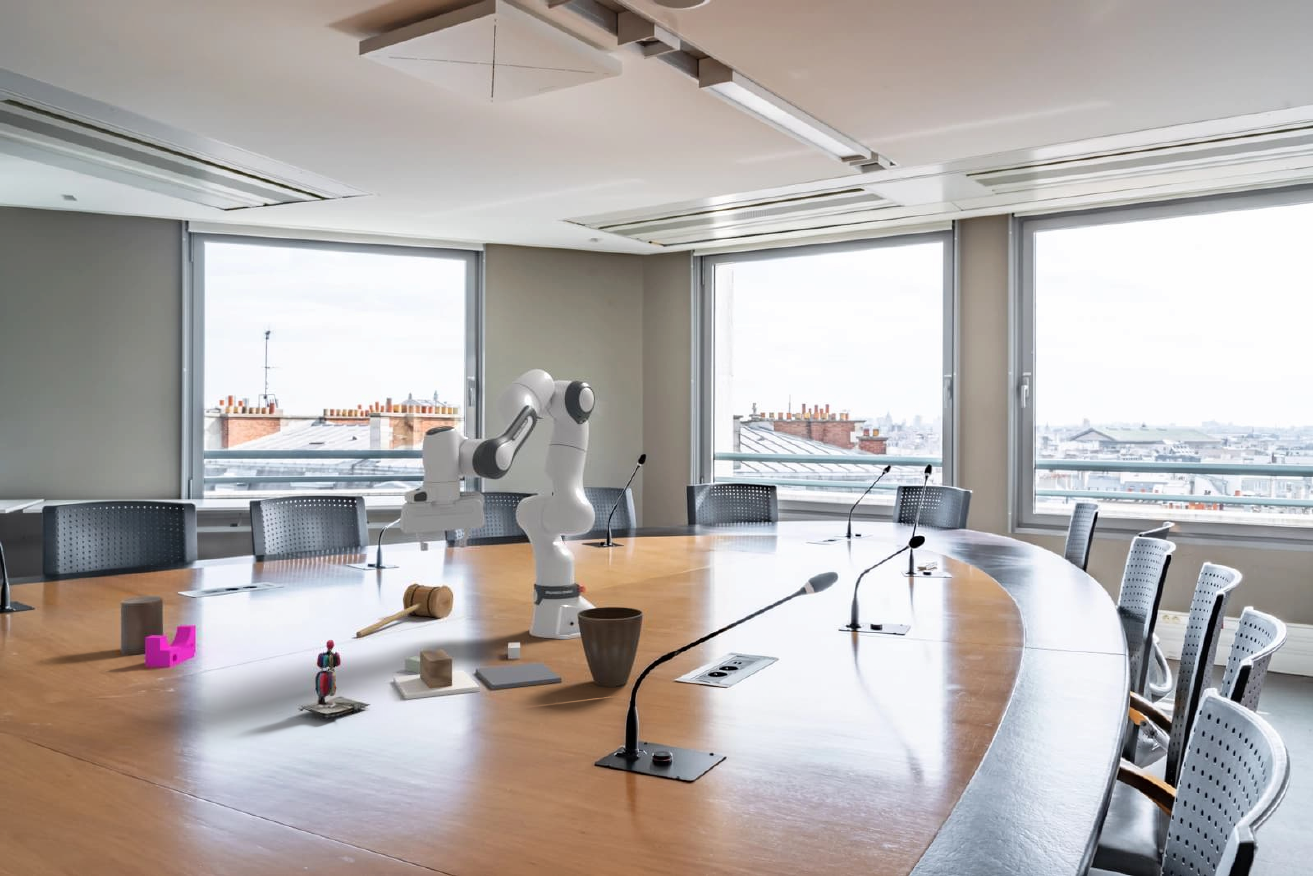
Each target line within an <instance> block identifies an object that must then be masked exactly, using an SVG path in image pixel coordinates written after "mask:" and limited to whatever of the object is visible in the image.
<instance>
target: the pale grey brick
mask: <svg viewBox="0 0 1313 876" xmlns="http://www.w3.org/2000/svg"><path fill="white" fill-rule="evenodd" d="M507 645H508V646H507V659H508V660H521V642H520V641H519V642H508V644H507Z"/></svg>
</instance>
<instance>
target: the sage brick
mask: <svg viewBox="0 0 1313 876" xmlns="http://www.w3.org/2000/svg"><path fill="white" fill-rule="evenodd" d="M404 670H405V671H409V672H413V673H417V674H420V656H418V655H417V656H416V655H414V656H410V657H405V658H404Z"/></svg>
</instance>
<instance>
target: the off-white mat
mask: <svg viewBox="0 0 1313 876" xmlns="http://www.w3.org/2000/svg"><path fill="white" fill-rule="evenodd" d="M393 683H394V684H395V686H396V688H398V690H399V692H400V693H401V695H402V696H403V698H404V699H405V700H411V699H422V698H429V697H439V696H447V695H448V696H449V695H457V694H466V693H474V692H475V693H477V692H480V686H479V685H478V684H477V682H476V681H474V679H472V677H470V675H469V674H468V673H467V672H466V671H465V670H463V669H461V670H452V686H447V687H438V688H429V687H428V686H427V685H426V684H425V683H424V682H423V680H422V679H421V678H420V673H418V674H412V675H401V676H394V677H393Z"/></svg>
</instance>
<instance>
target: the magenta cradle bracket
mask: <svg viewBox="0 0 1313 876" xmlns="http://www.w3.org/2000/svg"><path fill="white" fill-rule="evenodd" d="M196 630H197V629H196V625H195V624H194V625H193V624H192V625H191V624H189V625H186V624H184V625H183V624H181V625H177V627H176V632H175V636H174V639H173V641H172V643H170V644H169V641H168V636H167V635H163V636H161V635H152V636H149V637H146V638H145V654H144V655H145V656H144V657H145V666H144V667H148V668H149V667H153V668H172V667H173V666H176V665H178V664H181V663H184V662H185V661H188V660H190V659H193V658H195V653H196V651H197V650H196V648H197V647H196V646H197V645H196V640H197V639H196V635H197V631H196Z"/></svg>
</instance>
